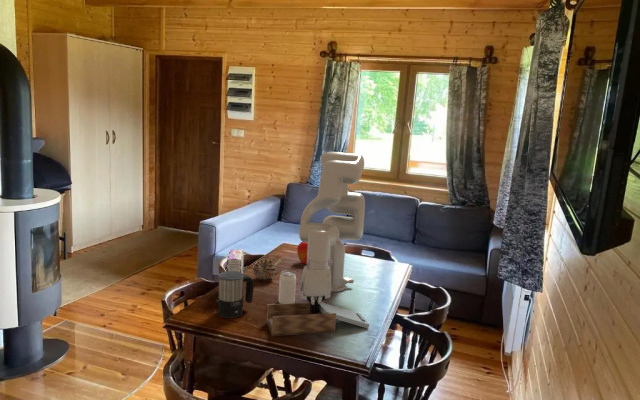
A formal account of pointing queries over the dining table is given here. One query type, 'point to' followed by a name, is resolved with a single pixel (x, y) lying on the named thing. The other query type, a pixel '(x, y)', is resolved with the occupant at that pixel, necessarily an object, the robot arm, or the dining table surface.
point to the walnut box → (298, 319)
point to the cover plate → (344, 315)
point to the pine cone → (265, 268)
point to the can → (287, 287)
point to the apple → (302, 252)
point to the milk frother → (233, 293)
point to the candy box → (235, 260)
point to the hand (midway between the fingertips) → (314, 313)
